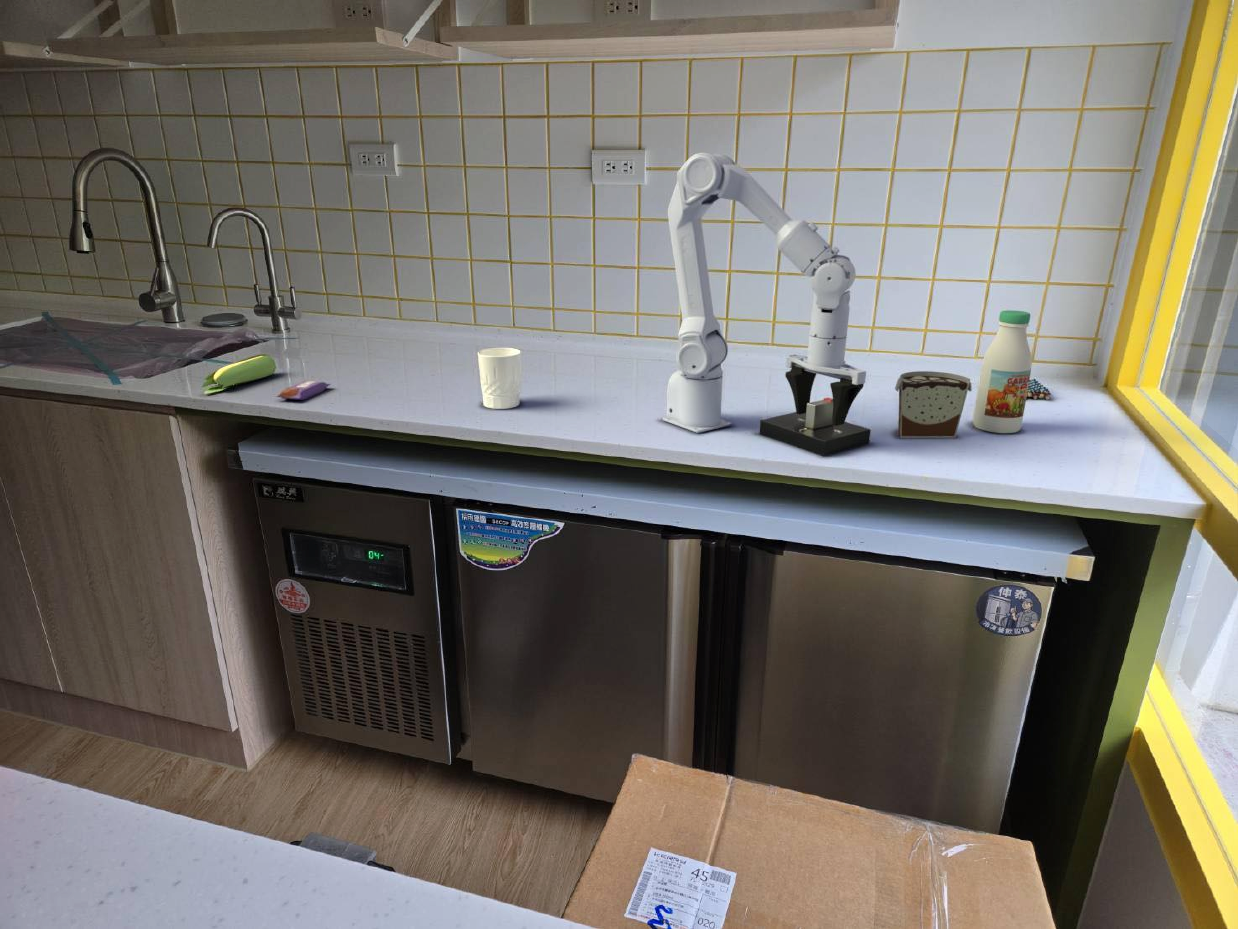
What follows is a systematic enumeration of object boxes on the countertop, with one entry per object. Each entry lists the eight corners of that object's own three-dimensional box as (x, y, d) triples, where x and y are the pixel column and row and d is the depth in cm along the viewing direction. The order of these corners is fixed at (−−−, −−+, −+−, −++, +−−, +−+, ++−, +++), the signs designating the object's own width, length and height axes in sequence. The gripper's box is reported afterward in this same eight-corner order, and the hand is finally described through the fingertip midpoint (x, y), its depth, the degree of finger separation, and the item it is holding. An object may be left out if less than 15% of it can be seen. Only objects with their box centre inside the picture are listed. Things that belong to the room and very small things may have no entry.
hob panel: (759, 434, 137) (760, 419, 137) (803, 423, 144) (805, 408, 143) (824, 456, 127) (825, 440, 126) (869, 443, 133) (871, 428, 132)
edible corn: (284, 374, 175) (281, 353, 174) (215, 397, 157) (211, 373, 156) (264, 372, 177) (261, 351, 175) (193, 394, 159) (189, 371, 157)
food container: (949, 426, 142) (957, 370, 139) (964, 437, 136) (973, 379, 133) (879, 427, 142) (885, 370, 139) (891, 437, 136) (898, 379, 133)
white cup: (531, 402, 155) (529, 350, 152) (505, 412, 149) (503, 358, 145) (498, 397, 159) (495, 346, 155) (471, 406, 152) (468, 353, 149)
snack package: (308, 377, 164) (331, 379, 163) (309, 387, 165) (332, 388, 164) (274, 391, 154) (298, 393, 153) (275, 401, 154) (299, 403, 153)
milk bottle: (964, 427, 142) (982, 311, 135) (983, 418, 147) (1001, 306, 140) (1009, 437, 137) (1030, 317, 130) (1027, 427, 142) (1048, 312, 135)
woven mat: (1052, 400, 159) (1054, 390, 158) (994, 397, 161) (996, 387, 160) (1035, 387, 169) (1037, 377, 168) (981, 385, 170) (982, 375, 170)
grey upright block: (813, 429, 132) (815, 404, 130) (804, 426, 133) (806, 401, 131) (834, 424, 134) (836, 399, 133) (825, 421, 136) (827, 397, 134)
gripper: (882, 340, 125) (872, 425, 130) (809, 326, 136) (802, 404, 141) (852, 345, 121) (843, 432, 126) (780, 330, 132) (773, 411, 137)
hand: (819, 418), depth 133 cm, fingers open, 7 cm apart
